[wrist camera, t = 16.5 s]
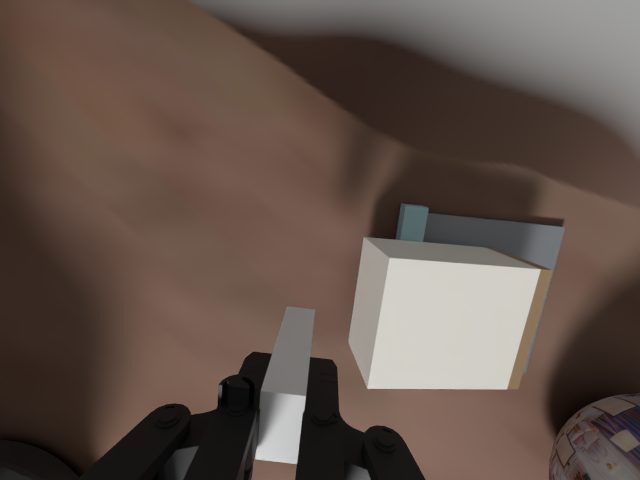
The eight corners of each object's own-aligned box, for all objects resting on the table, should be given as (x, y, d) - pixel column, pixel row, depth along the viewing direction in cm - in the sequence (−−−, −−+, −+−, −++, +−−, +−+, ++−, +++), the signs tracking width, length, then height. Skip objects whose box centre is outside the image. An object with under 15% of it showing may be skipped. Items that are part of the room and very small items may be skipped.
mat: (399, 356, 26) (400, 359, 25) (424, 212, 23) (426, 213, 22) (521, 369, 25) (525, 373, 25) (560, 226, 23) (565, 227, 22)
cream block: (367, 388, 18) (518, 389, 20) (389, 257, 16) (552, 270, 18) (348, 341, 23) (470, 345, 25) (364, 237, 21) (494, 248, 23)
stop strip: (377, 359, 26) (379, 370, 24) (401, 203, 23) (405, 205, 21) (396, 361, 26) (400, 372, 24) (422, 205, 23) (428, 207, 21)
